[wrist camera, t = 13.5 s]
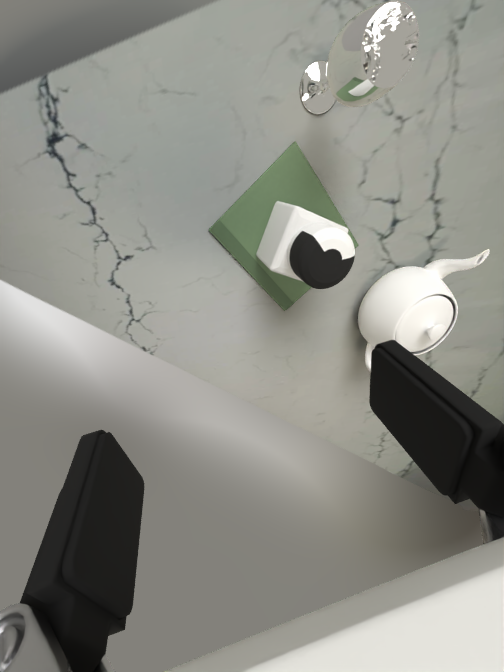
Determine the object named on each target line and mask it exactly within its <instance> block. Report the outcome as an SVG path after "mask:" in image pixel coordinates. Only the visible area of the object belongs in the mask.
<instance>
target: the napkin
mask: <svg viewBox="0 0 504 672" xmlns="http://www.w3.org/2000/svg"><path fill="white" fill-rule="evenodd" d="M277 201H280V202H284V203H288V204H291V205H295V206H298V207H301V208H303V209H305V210H307V211H310V212H312V213H314V214H317V215H319V216H321V217H323V218H326V219H328V220H330V221H332V222H335V223H337V224H339V225H341V226H344V227H346V228H347V229H348V227H347V225H346V224H345V222H344V220H343V219H342V217H341V215H340V214H339V212H338V210H337V209H336V207H335V206H334V204H333V202H332V201H331V199H330V197H329V196H328V194H327V192H326V191H325V189H324V188H323V186H322V184H321V183H320V181H319V179H318V178H317V176H316V174H315V173H314V171H313V170H312V168H311V166H310V165H309V163H308V161H307V160H306V158H305V156H304V155H303V153H302V151H301V150H300V148H299V147H298V145H297V143H296V142H294V143H293V144H292V145H291V146H290V147H289V148H288V149H287V150H286V151H285V152H284V153H283V154H282V155H281V156H280V157H279V158H278V159H277V160H276V161H275V162H274V163H273V164H272V165H271V166H270V167H269V168H268V169H267V170H266V172H265V173H264V174H263V175H262V176H261V177H260V178H259V179H258V180H257V181H256V182H255V183H254V184H253V185H252V186H251V187H250V188H249V189H248V190H247V191H246V192H245V193H244V194H243V195H242V196H241V197H240V198H239V199H238V200H237V201H236V202H235V203H234V204H233V205H232V206H231V207H230V208H229V209H228V210H227V211H226V212H225V213H224V215H223V216H222V217H221V218H220V219H219V220H218V221H217V222H216V223H215V224H214V225H213V226H212V227H211V228H210V229H209V231H210V232H211V233H212V234H213V235H214V236H215V237H216V238H217V239H218V240H219V242H220V243H221V244H222V245H223V246H224V247H225V248H226V249H227V250H228V251H229V252H230V253H231V254H232V255H233V257H234V258H235V259H236V260H237V261H238V262H239V263H240V264H241V265H242V266H243V267H244V268H245V269H246V270H247V271H248V273H249V274H250V275H251V276H252V277H253V278H254V279H255V280H256V281H257V282H258V283H259V284H260V285H261V286H262V287H263V289H264V290H265V291H266V292H267V293H268V294H269V295H270V296H271V297H272V298H273V299H274V300H275V301H276V302H277V304H278V305H279V306H280V307H281V308H282V309H283V310H284V311H285V310H287V309H288V308H289V307H290V306H292V305H293V304H294V302H295V301H297V300H298V299H299V298H300V297H301V296H302V295H303V294H304V293H306V292H307V291H308V290H309V289H310V288H311V287H310V286H309V285H307V284H306V283H305V282H303V281H300V280H297V279H294V278H291V277H288V276H285V275H282V274H279V273H276V272H273V271H271V270H270V269H269V268H268V267H267V266H266V265H265V264H264V263H263V262H262V261H261V260H260V259H259V258H258V257H257V255H256V253H257V250H258V248H259V245H260V242H261V240H262V237H263V234H264V232H265V229H266V226H267V224H268V221H269V218H270V216H271V213H272V210H273V208H274V205H275V203H276V202H277ZM348 235H349V236H350V237H351V239H352V241H353V244H354V248H356V247H357V246H358V243H357V242H356V240H355V238H354V237H353V235H352V233H351V232H350V230H349V229H348Z"/></svg>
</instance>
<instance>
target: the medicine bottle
mask: <svg viewBox="0 0 504 672" xmlns="http://www.w3.org/2000/svg"><path fill="white" fill-rule="evenodd" d="M256 255H257V257H258V258H259V259H260V260H261V261H262V262H263V263H264V264H265V265H266V266H267V267H268V268H269V269H270V270H271V271H273V272H276V273H279V274H282V275H285V276H288V277H291V278H294V279H297V280H300V281H303V282H305V283H306V284H307V285H309V286H310V287H312V288H316V289H325V288H329V287H332V286H334V285H336V284H338V283H339V282H340V281H342V280H343V279H344V278H345V276H346V275H347V274H348V272H349V271H350V269H351V267H352V264H353V261H354V256H355V248H354V244H353V241H352V239H351V237H350V236H349V235H348V229H347V228H346V227H344V226H341V225H339V224H337V223H335V222H332V221H330V220H328V219H326V218H323V217H321V216H319V215H317V214H314V213H312V212H310V211H307V210H305V209H303V208H301V207H298V206H295V205H291V204H288V203H284V202H280V201H277V202H276V203H275V205H274V208H273V210H272V213H271V216H270V218H269V221H268V224H267V226H266V229H265V232H264V234H263V237H262V240H261V242H260V245H259V248H258V250H257V253H256Z"/></svg>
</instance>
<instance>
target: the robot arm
mask: <svg viewBox="0 0 504 672" xmlns="http://www.w3.org/2000/svg"><path fill="white" fill-rule="evenodd" d="M370 406H371V409H372V410H373V412H374V413H375V414H376V415H377V417H378V418H379V419H380V420H381V422H382V423H383V424H384V425H385V426H386V428H387V429H388V430H389V431H390V432H391V434H392V435H393V436H394V437H395V439H396V440H397V441H398V442H399V443H400V445H401V446H402V447H403V448H404V449H405V451H406V452H407V453H408V454H409V456H410V457H411V458H412V459H413V460H414V462H415V463H416V464H417V465H418V466H419V468H420V469H421V470H422V471H423V472H424V474H425V475H426V476H427V477H428V479H429V480H430V481H431V482H432V483H433V485H434V486H435V487H436V488H437V489H438V491H439V492H440V493H442V494H443V495H448V496H449V497H450V499H451V500H452V501H453V502H454V503H455V504H457V503H459V502H462V501H465V500H467V499H471V500H472V502H473V503H474V504H475V505H476V506H477V507H478V508H479V514H480V522H481V530H482V538H483V545H481V546H478V547H476V548H473V549H470V550H468V551H465V552H462V553H459V554H457V555H454V556H452V557H449V558H447V559H444V560H442V561H439V562H437V563H434V564H432V565H429V566H427V567H424V568H421V569H419V570H417V571H414V572H411V573H409V574H406V575H404V576H401V577H398V578H396V579H393V580H391V581H388V582H386V583H383V584H381V585H378V586H376V587H373V588H371V589H368V590H366V591H363V592H361V593H358V594H356V595H353V596H350V597H348V598H345V599H343V600H340V601H338V602H335V603H333V604H330V605H328V606H326V607H323V608H320V609H318V610H315V611H313V612H310V613H308V614H306V615H303V616H300V617H298V618H296V619H293V620H290V621H288V622H285V623H283V624H280V625H278V626H276V627H273V628H270V629H268V630H266V631H263V632H261V633H258V634H255V635H253V636H251V637H248V638H246V639H243V640H241V641H238V642H236V643H233V644H231V645H228V646H226V647H224V648H221V649H218V650H216V651H213V652H211V653H209V654H206V655H204V656H201V657H199V658H196V659H194V660H191V661H189V662H186V663H184V664H181V665H179V666H176V667H174V668H171V669H169V670H167V671H164V672H504V424H502V422H501V421H499V420H498V419H497V418H495V417H494V416H493V415H492V414H490V413H489V412H488V411H486V410H485V409H484V408H482V407H481V406H480V405H478V404H477V403H476V402H475V401H473V400H472V399H471V398H469V397H468V396H467V395H465V394H464V393H463V392H462V391H460V390H459V389H458V388H456V387H455V386H454V385H452V384H451V383H450V382H449V381H447V380H446V379H445V378H443V377H442V376H441V375H439V374H438V373H437V372H436V371H434V370H433V369H432V368H430V367H429V366H428V365H426V364H425V363H424V362H423V361H421V360H420V359H419V358H417V357H416V356H415V355H413V354H412V353H411V352H410V351H408V350H407V349H406V348H404V347H403V346H402V345H400V344H399V343H398V342H396V341H395V340H389V341H386V342H382V343H379V344H377V345H376V346H375V349H374V350H372V353H371V377H370ZM143 496H144V481H143V478H142V476H141V475H140V474H139V472H138V471H137V469H136V468H135V467H134V465H133V464H132V462H131V461H130V459H129V458H128V457H127V455H126V454H125V452H124V451H123V450H122V448H121V447H120V445H119V444H118V442H117V441H116V439H115V438H114V437H113V435H112V434H111V433H110V432H108V433H106V432H105V431H103V430H99V431H96V432H93V433H89V434H86V435H83V436H82V437H81V439H80V441H79V444H78V447H77V450H76V452H75V455H74V458H73V461H72V464H71V467H70V469H69V472H68V475H67V478H66V480H65V483H64V486H63V488H62V490H61V492H60V494H59V496H58V499H57V502H56V504H55V507H54V510H53V513H52V515H51V518H50V521H49V524H48V526H47V529H46V532H45V535H44V538H43V540H42V544H41V546H40V549H39V551H38V554H37V557H36V560H35V563H34V565H33V568H32V571H31V574H30V577H29V579H28V582H27V585H26V587H25V590H24V593H23V596H22V599H21V601H20V603H18V604H14V605H10V606H8V607H6V608H5V609H3V610H1V611H0V672H115V671H114V669H113V667H112V665H111V663H110V662H109V660H108V658H107V657H106V655H105V652H106V646H107V639H108V636H109V635H112V634H115V633H117V632H120V631H122V630H125V624H126V616H127V615H129V614H130V612H131V610H132V606H133V598H134V587H135V577H136V567H137V557H138V547H139V536H140V526H141V517H142V506H143Z"/></svg>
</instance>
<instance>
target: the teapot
mask: <svg viewBox="0 0 504 672" xmlns="http://www.w3.org/2000/svg"><path fill="white" fill-rule="evenodd" d="M489 252H490V250H489V249H488V250H485V251H484V252H482V253H480V254H478V255H476V256H474V257H473V258H468V259H441V260H436V261H433V262H431V263H430V264H428V265H426V266H425V267H424V268H420V267H415V266H411V267H403V268H399V269H396V270H393V271H391V272H389V273H387V274H386V275H384V276H383V277H381V278H380V279H379V280H378V281H376V282H375V283H374V284H373V285H372V287H371V288H370V289H369V290H368V292H367V293H366V295H365V296H364V298H363V300H362V303H361V305H360V309H359V313H358V324H359V329H360V332H361V334H362V336H363V337H364V338H365V339H366V340H367V342H368V343H367V347H366V352H365V363H366V366H367V369H368V370H369V371H370V372H371V353H372V350H374V347H375V346H376V345H377V344H379V343H382V342H386V341H389V340H395V341H396V342H398V343H399V344H400V345H402V346H403V347H404V348H406V349H407V350H408V351H410V352H411V353H412V354H413V355H420V354H423V353H425V352H428V351H430V350H431V349H433V348H435V347H436V346H437V345H438V344H440V343H441V342H442V341H443V340H444V339H445V338H446V337H447V335H448V334H449V333H450V331H451V330H452V328H453V326H454V324H455V322H456V319H457V315H458V306H457V302H456V300H455V298H454V296H453V295H452V293H451V291H450V290H449V288H448V287H447V286H446V284H445V283H444V282H443V281H442V279H443V278H444V277H445V276H447V275H448V274H450V273H452V272H454V271H460V270H467V269H471V268H474V267H476V266H478V265H479V264H481V263H482V262H483V261H484V260H485V259H486V257H487V256H488V255H489Z"/></svg>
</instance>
